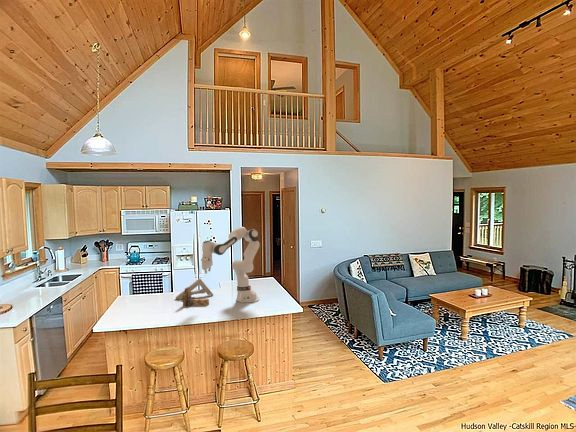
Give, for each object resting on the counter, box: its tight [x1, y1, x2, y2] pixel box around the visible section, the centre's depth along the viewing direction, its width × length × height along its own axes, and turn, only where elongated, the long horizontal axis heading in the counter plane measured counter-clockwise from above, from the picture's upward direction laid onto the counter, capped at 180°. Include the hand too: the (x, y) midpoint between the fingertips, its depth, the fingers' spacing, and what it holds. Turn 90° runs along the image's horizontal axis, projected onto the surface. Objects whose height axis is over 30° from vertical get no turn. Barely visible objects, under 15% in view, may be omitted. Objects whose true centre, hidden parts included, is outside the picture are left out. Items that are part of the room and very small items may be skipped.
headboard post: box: [182, 286, 196, 308], centre depth 315 cm, size 7×16×16 cm, turn 175°
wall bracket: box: [175, 277, 214, 301], centre depth 338 cm, size 22×4×30 cm
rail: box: [190, 296, 210, 306], centre depth 314 cm, size 17×4×6 cm, turn 85°
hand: (207, 272), depth 312 cm, fingers open, 8 cm apart
